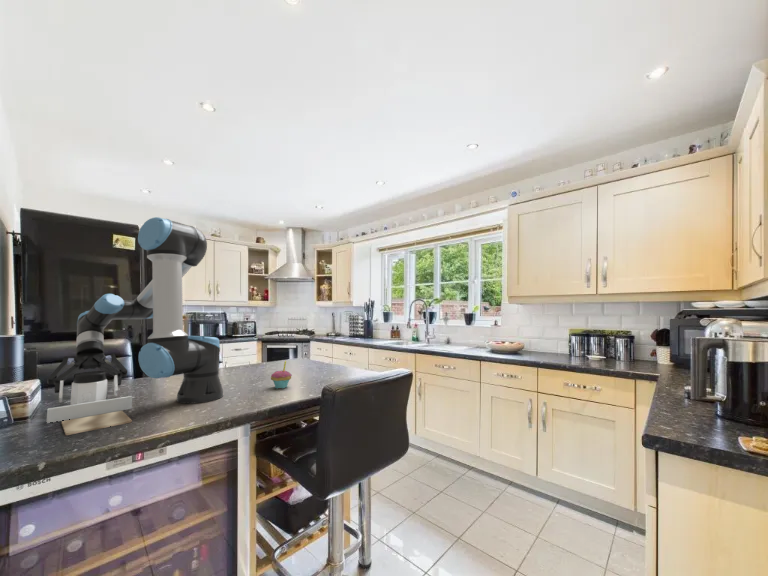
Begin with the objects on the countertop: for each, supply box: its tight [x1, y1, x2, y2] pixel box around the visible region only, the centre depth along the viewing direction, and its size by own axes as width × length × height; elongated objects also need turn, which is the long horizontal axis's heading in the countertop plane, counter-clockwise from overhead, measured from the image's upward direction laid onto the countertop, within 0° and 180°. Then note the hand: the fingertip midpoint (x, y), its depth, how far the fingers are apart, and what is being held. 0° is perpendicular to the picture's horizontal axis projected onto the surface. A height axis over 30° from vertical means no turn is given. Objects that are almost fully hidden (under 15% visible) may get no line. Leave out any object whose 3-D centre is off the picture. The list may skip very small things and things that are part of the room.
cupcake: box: [270, 360, 293, 389], centre depth 142 cm, size 9×8×12 cm
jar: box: [69, 370, 108, 405], centre depth 110 cm, size 9×8×12 cm
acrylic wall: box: [46, 395, 133, 424], centre depth 104 cm, size 20×1×4 cm, turn 138°
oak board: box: [61, 410, 133, 436], centre depth 97 cm, size 14×14×1 cm
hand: (89, 396), depth 108 cm, fingers open, 13 cm apart
